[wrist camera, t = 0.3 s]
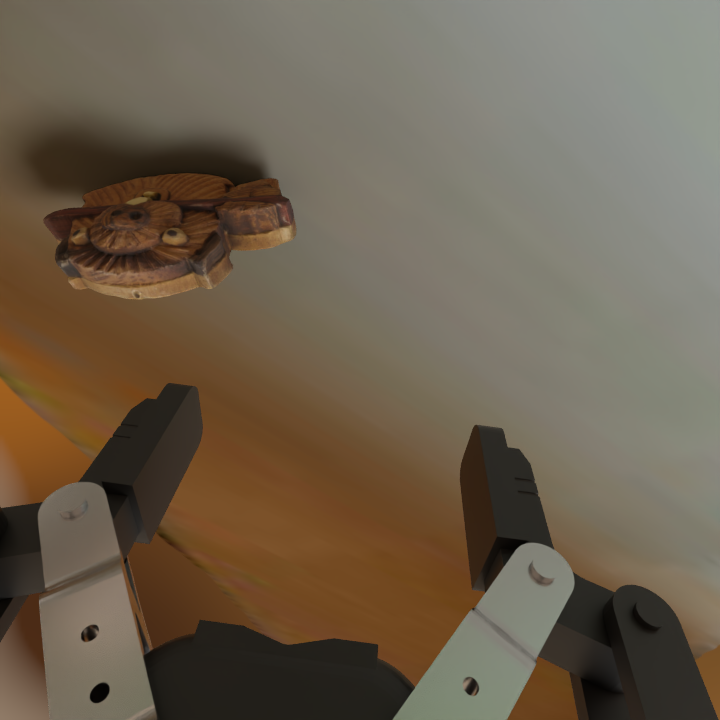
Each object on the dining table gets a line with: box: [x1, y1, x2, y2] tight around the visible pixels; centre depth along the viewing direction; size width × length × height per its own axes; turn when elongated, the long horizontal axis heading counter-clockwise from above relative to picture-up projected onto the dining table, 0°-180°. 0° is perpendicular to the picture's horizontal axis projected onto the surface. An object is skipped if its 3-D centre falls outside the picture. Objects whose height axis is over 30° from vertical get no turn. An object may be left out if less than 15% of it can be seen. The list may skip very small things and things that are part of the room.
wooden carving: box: [43, 173, 296, 299], centre depth 29 cm, size 16×5×10 cm, turn 100°
